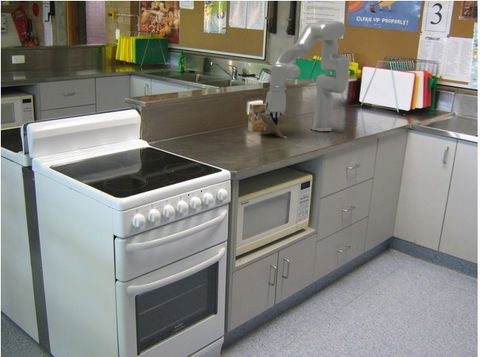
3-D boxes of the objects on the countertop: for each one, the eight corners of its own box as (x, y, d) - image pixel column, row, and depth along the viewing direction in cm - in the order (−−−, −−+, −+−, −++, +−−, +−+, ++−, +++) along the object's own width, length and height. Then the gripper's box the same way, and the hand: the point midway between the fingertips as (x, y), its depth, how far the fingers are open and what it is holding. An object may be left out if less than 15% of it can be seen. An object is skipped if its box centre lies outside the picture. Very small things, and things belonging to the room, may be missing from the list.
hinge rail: (276, 135, 276) (276, 132, 276) (287, 139, 266) (287, 137, 266) (274, 135, 275) (274, 132, 275) (285, 139, 266) (285, 137, 266)
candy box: (251, 133, 275) (253, 104, 270) (247, 132, 278) (249, 103, 274) (265, 133, 279) (267, 104, 275) (261, 131, 283) (263, 103, 278)
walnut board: (274, 132, 274) (260, 112, 267) (284, 136, 266) (269, 116, 259) (272, 134, 274) (258, 114, 267) (282, 138, 265) (267, 118, 258)
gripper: (286, 88, 268) (282, 123, 273) (260, 88, 261) (257, 124, 267) (293, 90, 262) (290, 126, 267) (267, 90, 255) (264, 127, 260)
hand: (274, 125), depth 267 cm, fingers closed
